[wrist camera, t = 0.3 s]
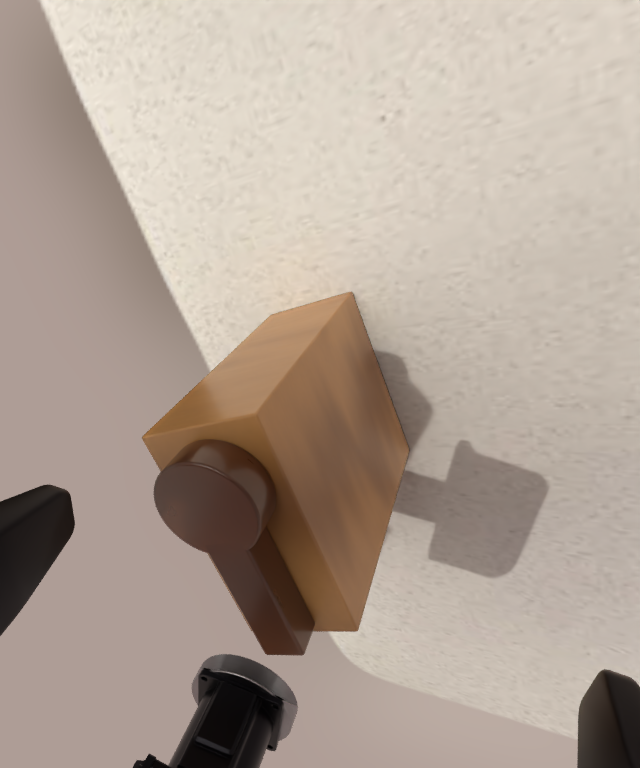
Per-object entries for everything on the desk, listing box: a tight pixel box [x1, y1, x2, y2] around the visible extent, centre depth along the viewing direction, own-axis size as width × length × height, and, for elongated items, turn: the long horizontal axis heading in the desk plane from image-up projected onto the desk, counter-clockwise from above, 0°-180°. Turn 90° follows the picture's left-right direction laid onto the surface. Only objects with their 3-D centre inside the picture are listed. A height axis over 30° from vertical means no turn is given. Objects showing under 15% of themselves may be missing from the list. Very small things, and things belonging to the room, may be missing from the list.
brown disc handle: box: [154, 439, 315, 655], centre depth 16 cm, size 7×3×1 cm, turn 22°
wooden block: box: [142, 292, 409, 631], centre depth 20 cm, size 8×4×10 cm, turn 22°
